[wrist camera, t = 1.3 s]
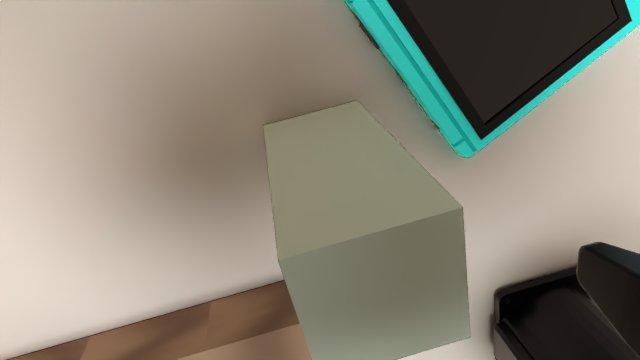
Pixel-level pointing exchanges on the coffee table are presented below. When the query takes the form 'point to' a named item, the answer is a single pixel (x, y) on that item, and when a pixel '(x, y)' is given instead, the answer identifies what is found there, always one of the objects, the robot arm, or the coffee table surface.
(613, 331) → the robot arm
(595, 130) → the coffee table surface
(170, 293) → the coffee table surface
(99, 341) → the walnut well block
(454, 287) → the sage peg
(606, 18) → the handheld game console
